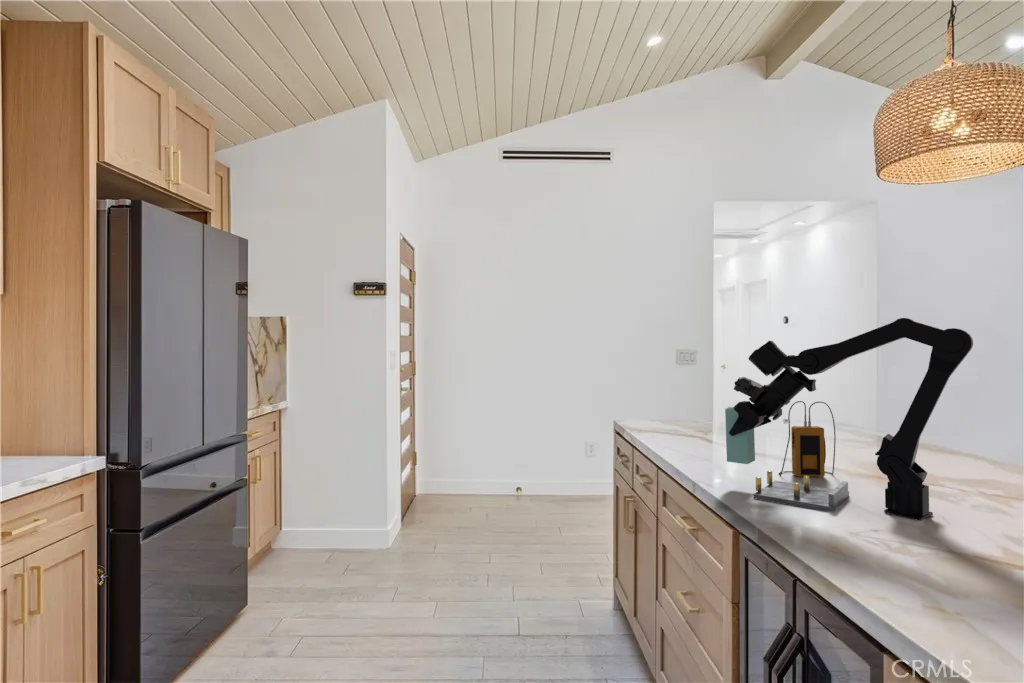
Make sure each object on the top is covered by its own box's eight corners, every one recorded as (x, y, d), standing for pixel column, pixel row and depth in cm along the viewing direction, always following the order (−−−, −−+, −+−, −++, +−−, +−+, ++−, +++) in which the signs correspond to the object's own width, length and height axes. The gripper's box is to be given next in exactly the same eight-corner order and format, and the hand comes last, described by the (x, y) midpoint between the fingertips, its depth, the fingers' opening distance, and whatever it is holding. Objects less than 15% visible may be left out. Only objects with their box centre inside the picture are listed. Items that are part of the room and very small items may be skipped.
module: (755, 460, 136) (753, 406, 136) (747, 464, 132) (746, 408, 132) (734, 458, 139) (732, 404, 139) (726, 461, 135) (725, 407, 135)
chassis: (849, 495, 127) (848, 478, 127) (832, 512, 115) (832, 492, 115) (772, 484, 138) (772, 468, 138) (750, 497, 126) (750, 480, 126)
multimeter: (822, 469, 154) (821, 397, 154) (839, 477, 144) (838, 401, 144) (767, 468, 155) (766, 397, 155) (781, 477, 145) (780, 401, 145)
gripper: (767, 364, 140) (725, 405, 147) (741, 367, 126) (696, 412, 133) (802, 397, 135) (756, 437, 142) (779, 403, 121) (729, 448, 128)
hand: (734, 433), depth 136 cm, fingers closed on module, 5 cm apart
